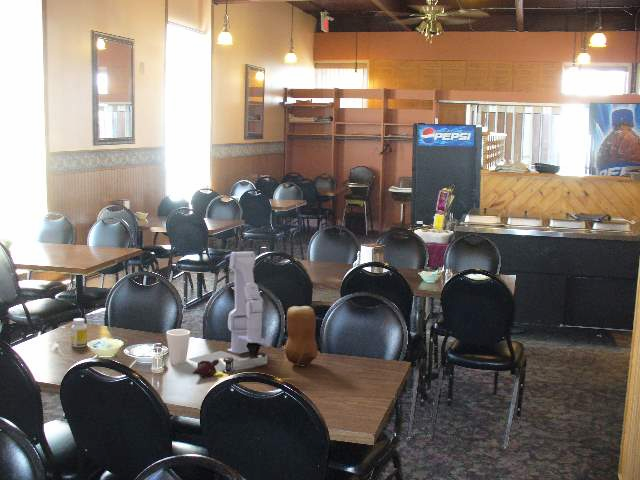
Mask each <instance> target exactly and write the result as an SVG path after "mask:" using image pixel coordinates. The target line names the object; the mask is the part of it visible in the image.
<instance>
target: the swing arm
mask: <svg viewBox="0 0 640 480" xmlns="http://www.w3.org/2000/svg"><path fill="white" fill-rule="evenodd" d="M223 361H224V362H226V363H231V369H232V370H235V369H241V368H246V367H252V366H257V365H262V366H264V365H267V364H268V355H267V353H266V352H265V351H262V352H261V354H259V355H258V354H257V356H252V357H251V356H248V357H241V359H237V358H231V357H226V358H224V359H223Z"/></svg>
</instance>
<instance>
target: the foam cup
mask: <svg viewBox="0 0 640 480" xmlns="http://www.w3.org/2000/svg"><path fill="white" fill-rule="evenodd" d="M190 339H191V332H190V330H189V329H188V330H187V329H184V328H176V329H175V328H174V329H170V330H166V340H167V341H166V342H167V347H168V356H169V362H170V365H172V366H177V365H182V364H185V363H186V362H187V360H188V357H187V356H188V351H189V345H190Z"/></svg>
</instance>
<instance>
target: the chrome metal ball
mask: <svg viewBox="0 0 640 480" xmlns="http://www.w3.org/2000/svg"><path fill="white" fill-rule="evenodd" d="M221 373H222V374H226V373H233V374H235V373H234V370H232V369H231V363H226V367H225V369H223V370H222V372H221Z"/></svg>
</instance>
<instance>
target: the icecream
mask: <svg viewBox="0 0 640 480" xmlns="http://www.w3.org/2000/svg"><path fill="white" fill-rule="evenodd" d="M218 363H219V360H213V362H212V363H211V362H210V361H201V362H200V363H197V367H196V368H195V369H194V370H193V372H192V374H194V375H197V376H200V377H205V378H210V377H212V376H213V374H214V373H215V372H217V370H216V369H215V366H216V365H217V364H218Z"/></svg>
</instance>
